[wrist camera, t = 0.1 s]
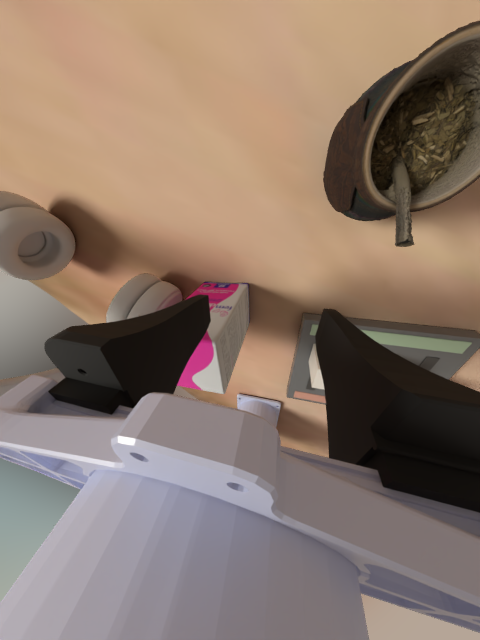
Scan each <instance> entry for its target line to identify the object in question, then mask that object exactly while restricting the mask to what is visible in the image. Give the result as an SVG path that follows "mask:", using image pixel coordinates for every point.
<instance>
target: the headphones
mask: <svg viewBox="0 0 480 640" xmlns="http://www.w3.org/2000/svg"><path fill="white" fill-rule="evenodd" d="M74 252H75V239H74V236H73V234H72V232H71V230H70V229H69V228H68V226H67V225H65V224H64V223H63V222H62V221H61V220H60V219H58V218H57V217H55V216H54V215H52V214H50V213H49V212H48V211H47V210H45V209H44V208H43V207H41V206H40V205H38V204H37V203H35V202H33V201H31V200H29V199H27V198H25V197H23V196H20V195H17V194H14V193H10V192H6V191H0V271H1V272H3V273H5V274H8V275H10V276H13V277H16V278H19V279H24V280H39V279H44V278H48V277H51V276H53V275H55V274H57V273H59V272H60V271H61V270H63V269H64V268H65V267H66V266H67V265H68V264H69V262H70V261H71V259H72V257H73V255H74ZM181 301H182V294H181V290H180V289H178V288H177V287H176V286H175V285H173V284H171V283H168V282H165V281H162V280H161V279H159V278H158V277H156V276H154V275H151V274H148V273H144V274H140V275H138V276H135V277H134V278H132V279H131V280H129V281H128V282H127V283H126V284H125V285H124V286H123V287H122V288H121V289H120V290H119V291H118V293H117V294H116V295H115V297H114V298H113V300H112V302H111V304H110V306H109V308H108V312H107V317H106V323H108V322H115V321H120V320H125V319H130V318H134V317H139V316H143V315H146V314H150V313H153V312H156V311H159V310H162V309H164V308H167V307H169V306H172V305H174V304H177V303H179V302H181ZM31 375H38V376H42V377H46V378H50V379H53V380H55V381H57V382H58V383H59V382H60V381H62V380H63V379H64V378H65V377H64V375H63V374H62V373H61V372H60V370H59V369H58V368H55V369H51V370H48V371H44V372H40V373H35V374H30V375H26V376H20V377H14V378H9V379H2V380H0V397H1V396H2V395H3V394H5V393H6V392H8V391H9V390H11V389H12V388H14V387H15V386H17V385H18V384H20V383H21V382H22V381H24V380H25V379H27V378H28V377H30V376H31Z"/></svg>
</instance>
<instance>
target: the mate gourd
mask: <svg viewBox="0 0 480 640" xmlns="http://www.w3.org/2000/svg"><path fill="white" fill-rule="evenodd" d="M479 177H480V21H476V22H472V23H470V24H468V25H466V26H464V27H460V28H458V29H457V30H456V31H453V32H451V33H449V34H447V35H446V36H445V37H443V38H441V39H439V40H437V41H436V42H435V43H434V44H433V45H432V46H431V47H429V48H427V49H426V50H425V51H423V52H422V53H420V54H419V56H418V57H417V58H415V59H414V60H412V61H409V62H407V63H405V64H403V65H402V66H399V67H398V68H394V69H393V70H392V71H390V72H389V73H388V74H386V75H385V76H383V77H382V78H380V79H379V80H378V81H377V82H376V83H374V84H373V85H372V86H371V87H370V88H369V89H368V90H367V91H365V93H363V94H362V96H361V97H360V98H359V100H358V101H357V102H356V103H355V104H353V105H352V106H350V108H348V109H347V111H346V112H345V113H344V116H343V117H342V118H341V120H340V121H339V122H338V124H337V126H336V127H335V129H334V132H333V134H332V137H331V140H330V143H329V147H328V153H327V158H326V164H325V171H324V178H323V182H324V187H325V192H326V195H327V198H328V200H329V202H330V204H331V205H332V207H333V208H334V209H335V210H336V211H338V212H341V213H343V214H344V215H345V216H347V217H350V218H353V219H355V220H360V221H361V220H362V221H373V220H381V219H385V218H388V217H391V216H394V215H396V243H395V245H396V246H399V247H407V246H411V245H414V242H413V237H412V234H411V229H412V227H411V222H412V221H411V218H410V217H411V214H410V212H415V211H420V210H424V209H427V208H430V207H433V206H436V205H438V204H440V203H442V202H444V201H446V200H449V199H451V198H452V197H453V196H455V195H457V194H458V193H460V192H461V191H463V190H464V189H465V188H467V187H468V186H469V185H471V184H472V183H473V182H475V181H476V180H477V179H478V178H479Z"/></svg>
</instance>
